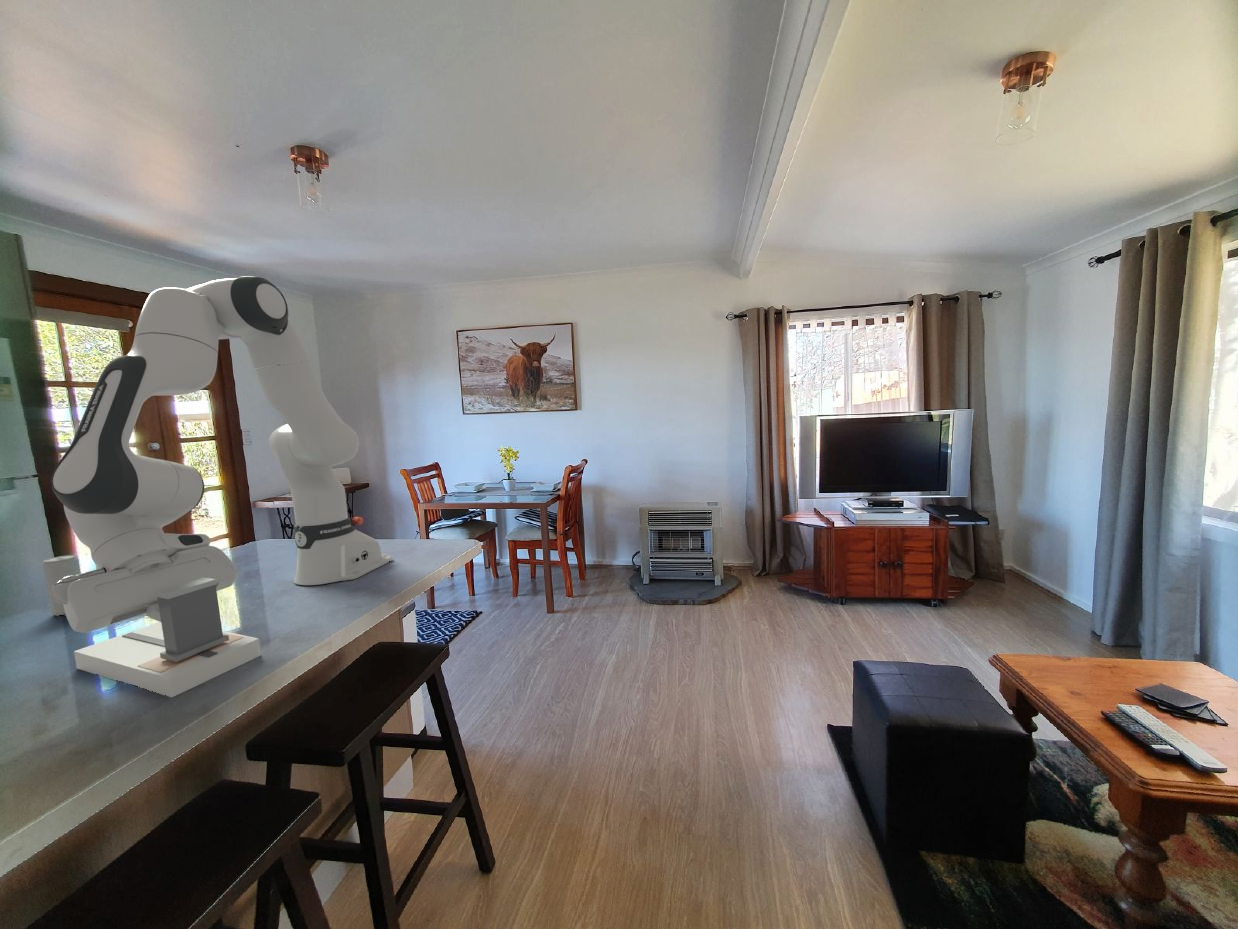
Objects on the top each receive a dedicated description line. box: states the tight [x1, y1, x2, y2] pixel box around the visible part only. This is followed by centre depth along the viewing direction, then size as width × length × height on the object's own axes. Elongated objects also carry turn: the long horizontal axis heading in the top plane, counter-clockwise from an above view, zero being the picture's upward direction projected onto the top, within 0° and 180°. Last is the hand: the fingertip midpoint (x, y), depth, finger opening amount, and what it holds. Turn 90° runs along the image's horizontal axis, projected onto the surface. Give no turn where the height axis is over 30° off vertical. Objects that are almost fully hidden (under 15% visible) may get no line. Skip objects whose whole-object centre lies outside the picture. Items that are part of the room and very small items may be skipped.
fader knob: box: [155, 578, 229, 662], centre depth 72 cm, size 4×7×10 cm, turn 160°
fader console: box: [73, 621, 262, 699], centre depth 76 cm, size 26×12×3 cm, turn 70°
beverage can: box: [42, 554, 82, 617], centre depth 98 cm, size 5×5×12 cm
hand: (184, 624), depth 73 cm, fingers closed, pressing on fader knob
